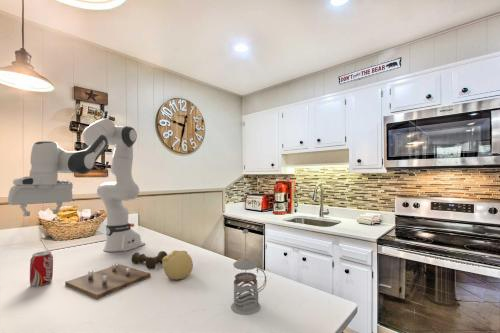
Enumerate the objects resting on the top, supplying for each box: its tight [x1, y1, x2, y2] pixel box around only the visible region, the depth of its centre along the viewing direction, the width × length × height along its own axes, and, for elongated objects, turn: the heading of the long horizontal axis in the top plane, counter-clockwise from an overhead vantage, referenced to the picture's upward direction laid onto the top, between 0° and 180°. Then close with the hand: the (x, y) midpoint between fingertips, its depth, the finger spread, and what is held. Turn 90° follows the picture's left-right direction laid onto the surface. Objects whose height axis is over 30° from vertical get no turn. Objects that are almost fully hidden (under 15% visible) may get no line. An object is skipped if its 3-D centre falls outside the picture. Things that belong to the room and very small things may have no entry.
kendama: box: [131, 250, 168, 270], centre depth 120 cm, size 6×10×20 cm
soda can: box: [29, 250, 54, 288], centre depth 100 cm, size 7×7×12 cm
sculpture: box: [161, 250, 194, 280], centre depth 106 cm, size 12×12×11 cm
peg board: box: [64, 263, 151, 300], centre depth 102 cm, size 22×22×4 cm
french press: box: [230, 228, 267, 316], centre depth 82 cm, size 10×12×25 cm
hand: (41, 214), depth 101 cm, fingers open, 8 cm apart
